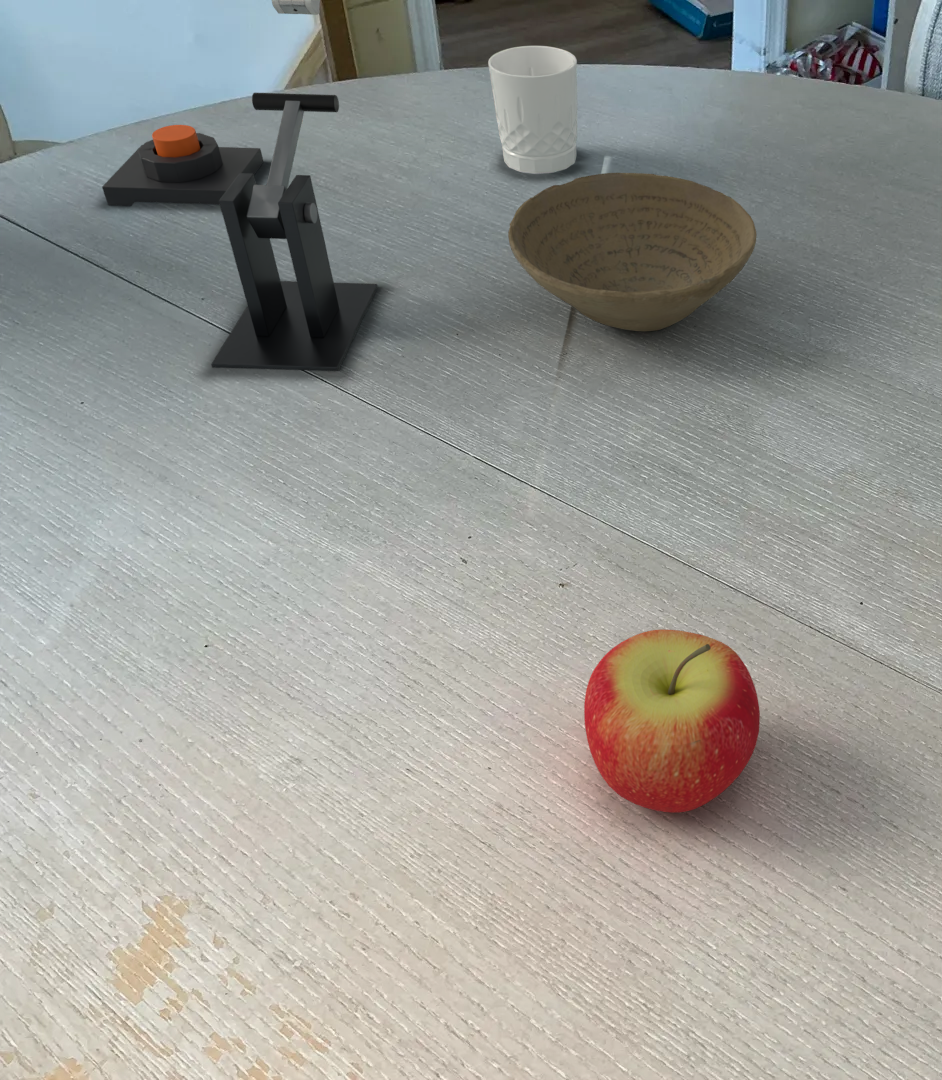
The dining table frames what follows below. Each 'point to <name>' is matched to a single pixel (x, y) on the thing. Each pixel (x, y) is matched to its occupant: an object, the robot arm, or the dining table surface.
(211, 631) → the dining table surface
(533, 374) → the dining table surface
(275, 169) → the lever
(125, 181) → the button box
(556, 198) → the bowl
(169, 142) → the button
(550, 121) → the white cup
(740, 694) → the apple
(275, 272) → the bracket
